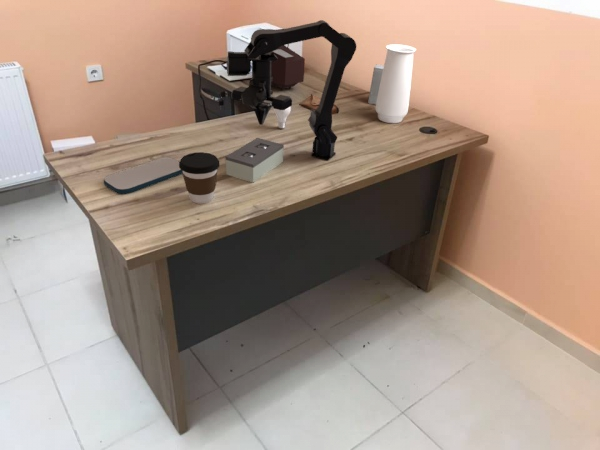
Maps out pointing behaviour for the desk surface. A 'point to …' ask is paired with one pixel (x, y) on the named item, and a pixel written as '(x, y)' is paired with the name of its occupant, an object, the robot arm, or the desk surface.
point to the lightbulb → (282, 116)
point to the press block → (254, 160)
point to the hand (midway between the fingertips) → (261, 124)
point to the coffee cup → (200, 175)
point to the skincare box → (375, 84)
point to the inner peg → (262, 146)
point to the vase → (395, 84)
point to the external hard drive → (143, 175)
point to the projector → (287, 68)
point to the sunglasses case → (316, 104)
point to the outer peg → (248, 155)
